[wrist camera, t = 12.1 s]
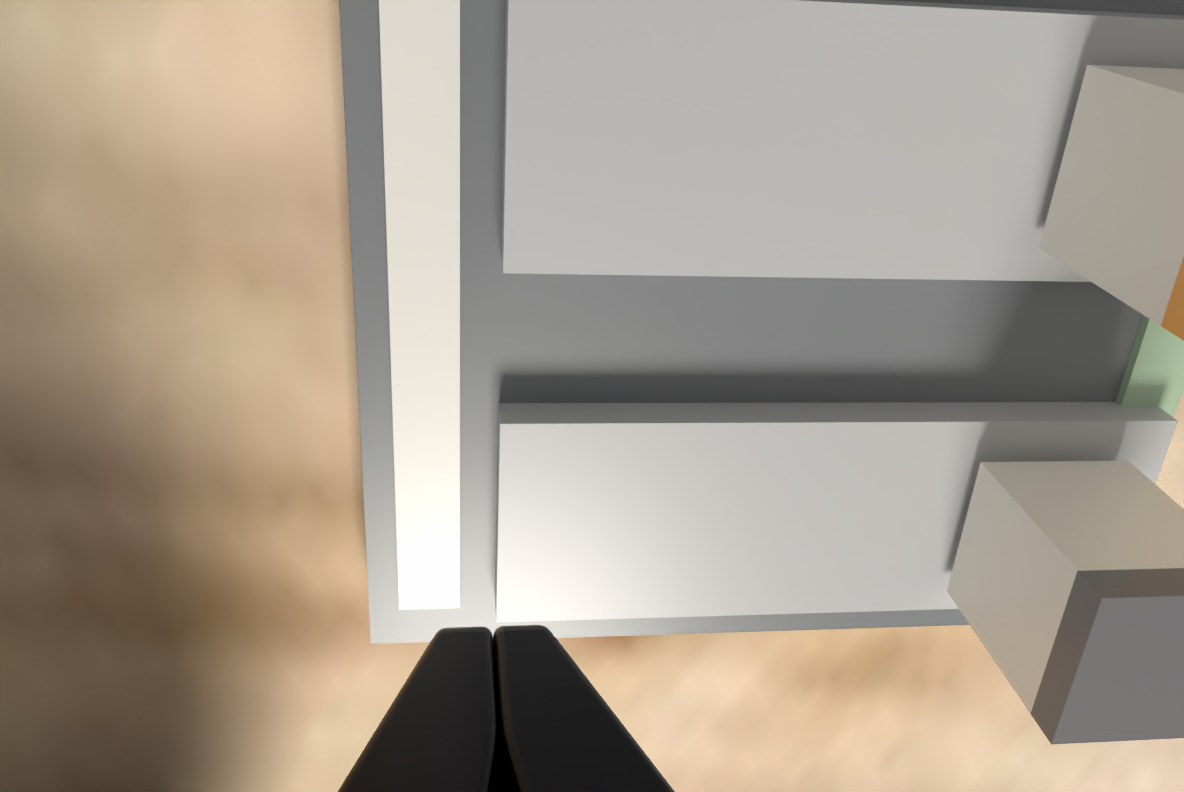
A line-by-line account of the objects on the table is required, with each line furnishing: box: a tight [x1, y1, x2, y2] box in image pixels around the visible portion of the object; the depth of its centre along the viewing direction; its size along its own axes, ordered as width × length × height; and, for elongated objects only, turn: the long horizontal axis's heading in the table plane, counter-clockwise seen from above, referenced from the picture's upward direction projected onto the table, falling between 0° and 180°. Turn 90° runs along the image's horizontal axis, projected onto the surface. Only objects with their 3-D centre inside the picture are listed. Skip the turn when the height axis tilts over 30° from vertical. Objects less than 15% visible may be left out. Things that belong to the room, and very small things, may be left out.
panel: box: [339, 0, 1184, 644], centre depth 18 cm, size 21×16×2 cm
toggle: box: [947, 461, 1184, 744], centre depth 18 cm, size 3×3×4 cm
